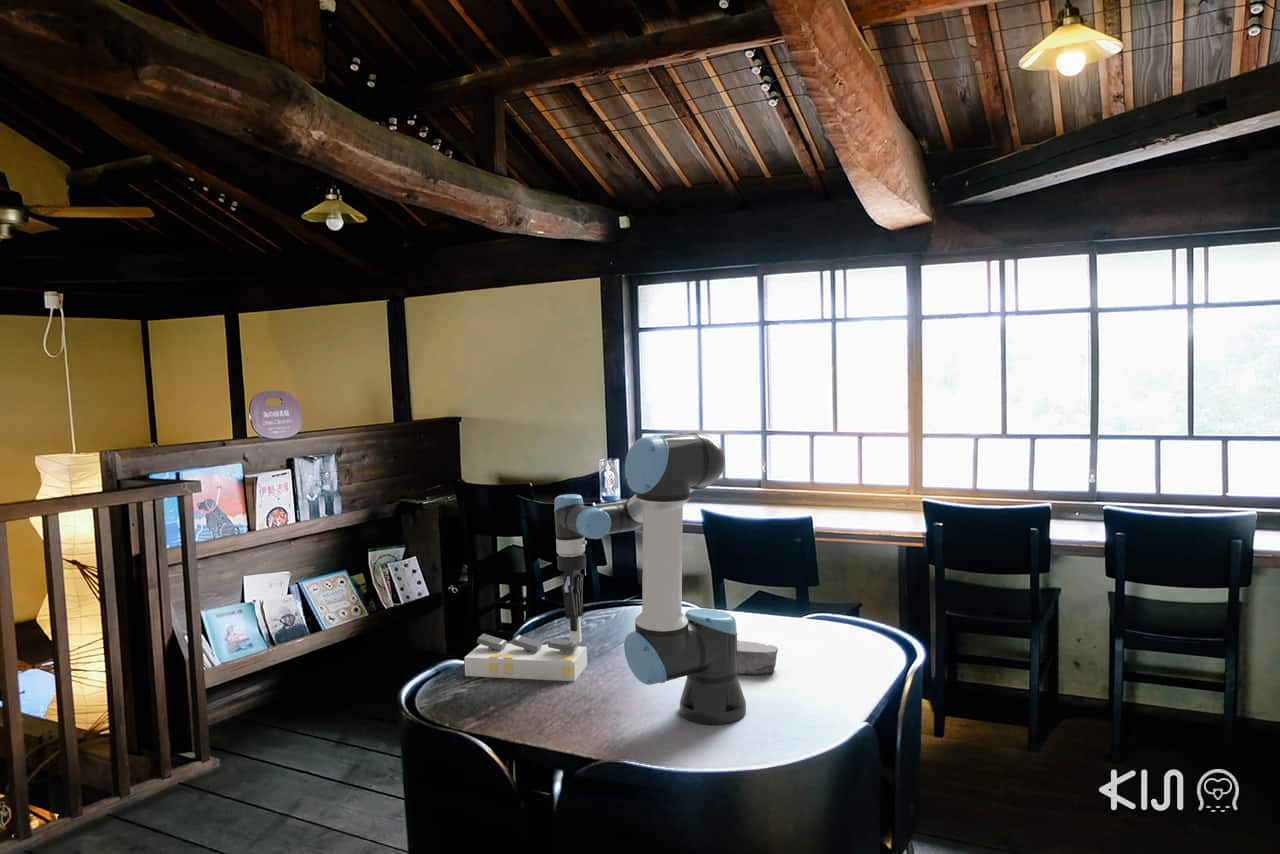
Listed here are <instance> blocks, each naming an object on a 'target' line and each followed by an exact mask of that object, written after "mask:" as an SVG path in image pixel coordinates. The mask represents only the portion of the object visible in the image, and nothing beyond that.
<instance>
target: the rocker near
mask: <svg viewBox="0 0 1280 854" xmlns="http://www.w3.org/2000/svg"><path fill="white" fill-rule="evenodd" d="M547 645H548V647H549V648H554V649H559V650H564V651H569V652H574V651H575V650H576V649H577V647H578V646H579V643H570V639H569V640H568V639H563V638H558V637H552V638H551V639H550V640H549V641H548V644H547Z"/></svg>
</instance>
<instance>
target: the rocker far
mask: <svg viewBox="0 0 1280 854" xmlns="http://www.w3.org/2000/svg"><path fill="white" fill-rule="evenodd" d="M476 644H478V645H480V644H481V645H484V646H488V647H491V648H494V649H497V650H500V651H501V650H502V649H503V648H504V647H505V646H506V644H508V640H507V639H506V640H505V639H502V638H499V637H496V636H493V635H490V634H487V633H482V634H481V635H480V636H478V637H477V640H476Z"/></svg>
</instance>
